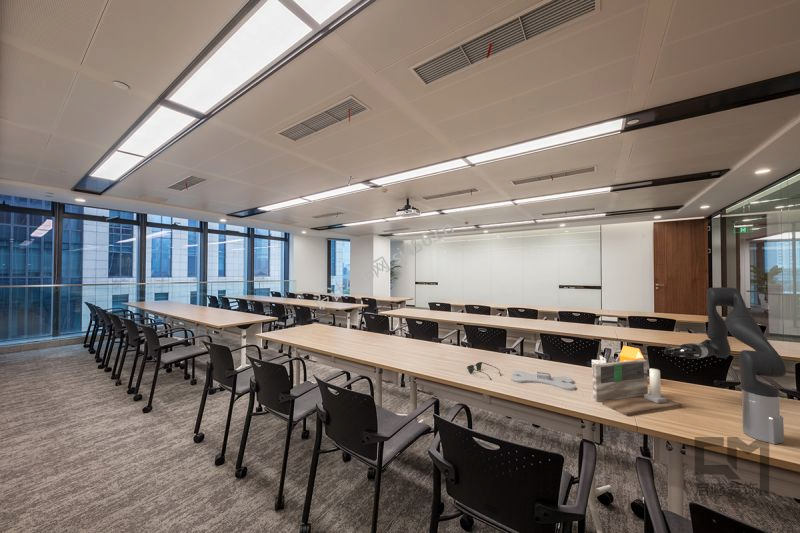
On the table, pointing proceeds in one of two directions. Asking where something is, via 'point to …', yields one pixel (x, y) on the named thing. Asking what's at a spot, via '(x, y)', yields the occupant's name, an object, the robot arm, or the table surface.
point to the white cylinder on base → (654, 386)
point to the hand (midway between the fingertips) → (669, 353)
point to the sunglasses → (478, 368)
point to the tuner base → (625, 388)
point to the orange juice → (630, 354)
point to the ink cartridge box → (598, 362)
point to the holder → (543, 379)
